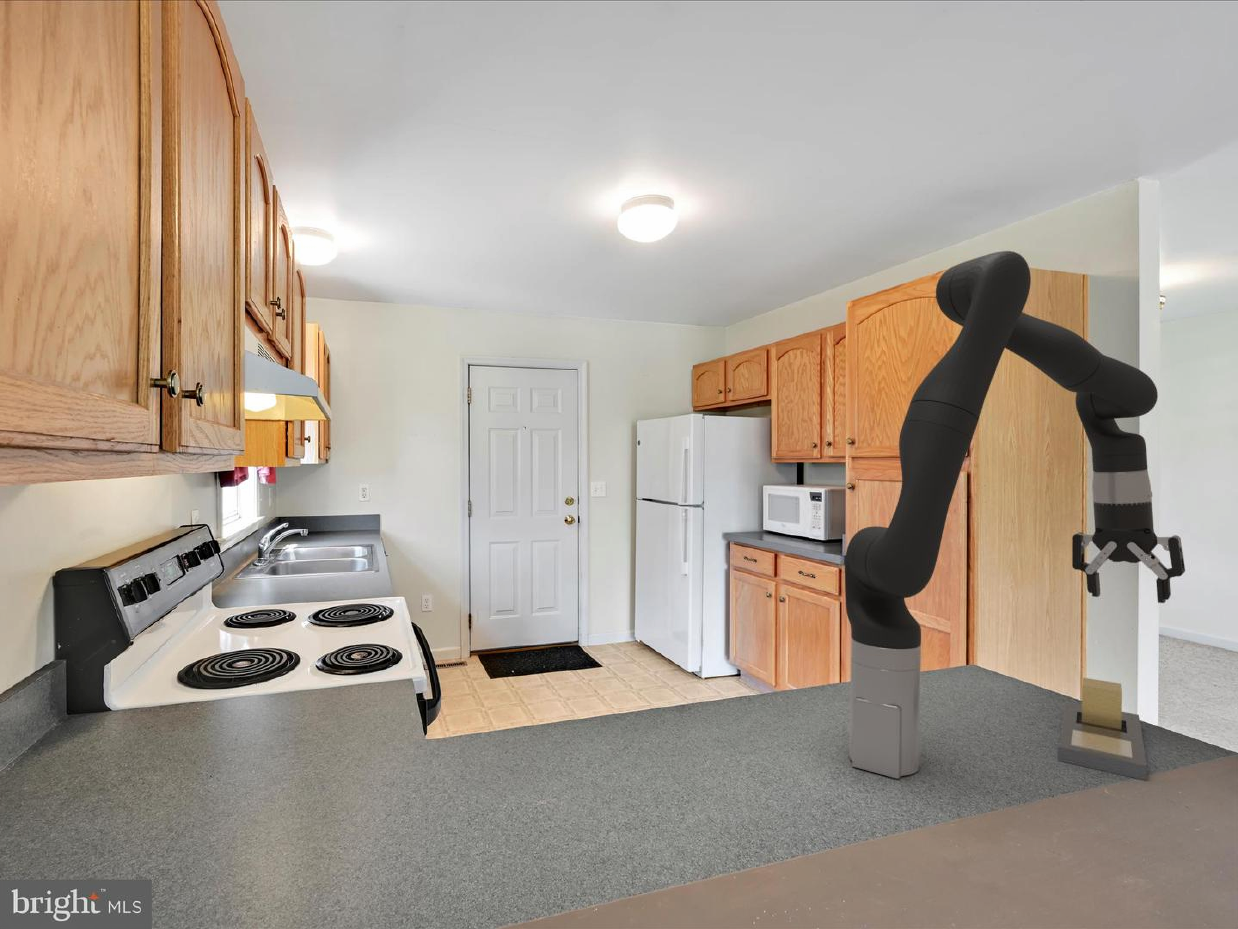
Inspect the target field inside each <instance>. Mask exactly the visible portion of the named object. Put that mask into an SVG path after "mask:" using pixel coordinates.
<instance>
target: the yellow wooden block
mask: <svg viewBox="0 0 1238 929" xmlns="http://www.w3.org/2000/svg"><path fill="white" fill-rule="evenodd" d="M1081 686H1082V688H1081V691H1082V692H1081V693H1082V694H1081V704H1082V724H1083V725H1088V726H1093V727H1098V728H1104V729H1109V730H1114V731H1119V732H1121V720H1122V712H1123V709H1122V708H1123V706H1122V704H1123V703H1122V702H1123V700H1122V699H1123V692H1122V683H1118V682H1113V681H1112V682H1111V681H1107V680H1106V681H1105V680H1100V679H1094V678H1088V677H1082V685H1081Z"/></svg>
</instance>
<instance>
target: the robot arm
mask: <svg viewBox="0 0 1238 929" xmlns="http://www.w3.org/2000/svg"><path fill="white" fill-rule="evenodd" d="M1030 269H1031V268H1030V266H1029V263H1028V262H1027V260H1026V259H1025V258H1024V257H1023V255H1021V253H1017V252H1016V251H1011V250H1004V251H1003V250H1002V251H996V252H992V253H988V254H986V255H981V256H979V257H976V258H975V257H974V258H972V259H969V260H965V261H963V262H961V263H958V264H956V265H954V266H952V267H950V268H948V269H946V270H945V271H944V272H943V273H942V274H941V276H940V277H939V279H938V280H937V284H936V288H935V299H936V303H937V305H938V307H939V310H940V311H941V312H942V314H943V315H944V316H945V317H947V319H949V320H950V321H952V322H953V323H955V324H957V325H959V326H961V327H962V328H961V330H960V332H959V334H958V336H957V338H956V339H955V341H954V342H953V344H952V345H951V347H950V348H949V350H948V351H947V352H945V354H944V356H942V357H941V359H940V360H938V362H937V363H936V364H935V366H934V367H932V369H931V370H930V371H929V372H928V373H927V375H926V376H925V378H923V380H922V381H921V383H920V384H919V385H918V387H917V388H916V390H915V391H914V393H913V395H912V398H911V400H910V403H909V406H908V409H907V410H906V414H905V416H904V420H903V423H902V426H901V428H900V433H899V439H898V449H899V453H898V454H899V462H900V469H901V471H900V472H901V489H900V494H899V498H898V501H897V504H896V507H895V510H894V512H893V515H892V518H891V520H890V523H889V525H888V526H887V527H885V526H877V525H876V526H866V527H864V528H862V529H860V530H858V531H857V532H856V533H854V534H853V536H852V537H851V539H850V540H849V543H848V545H847V548H846V552H845V557H844V558H845V560H844V587H845V588H844V592H845V612H846V615H847V619H848V622H849V624H850V632H851V634H850V638H851V640H850V642H851V643H850V683H849V684H850V685H849V686H850V688H849V690H850V691H849V695H850V696H849V698H850V699H849V700H850V701H849V746H848V747H849V749H848V750H849V754H848V755H849V756H848V757H849V759H850V760H851V763H852V764H851V766H852V767H853V768H857V769H861V770H865V771H868V772H872V773H876V774H879V775H883V776H887V777H888V778H889V777H890V778H893V779H900V778H901V777H903V776H910V775H913V774H916V773H917V772H918V771H919V770H920V741H921V740H920V733H921V732H920V731H921V730H920V728H921V726H920V724H921V722H920V721H921V719H920V718H921V668H922V666H921V665H922V664H921V663H922V662H921V660H922V628H921V624H920V623H919V622H918V621H917V620H916V619H915V617H914V616H913V615H912V614H911V612H910V611H909V609H908V607H907V604H906V601H905V599H908V598H911V597H915V596H916V595H918V594H919V593H921V592H922V591H923V590H924V589H925V588H926V587H927V585H928V584H929V582H930V581H931V579H932V576H933V575H934V572H935V569H936V565H937V562H938V557H939V553H940V548H941V545H942V540H943V534H944V529H945V526H946V522H947V517H948V516H947V515H948V513H949V508H950V505H951V502H952V499H953V496H954V492H955V489H956V486H957V484H958V480H959V478H960V473H961V470H962V467H963V464H964V462H965V458H966V456H967V454H968V450H969V448H970V447H971V443H972V440H973V437H974V435H975V432H976V428H977V426H978V424H979V419H980V416H981V413H982V409H983V407H984V404H985V400H986V398H987V395H988V392H989V389H990V387H991V384H992V382H993V379H994V376H995V374H996V370H997V368H998V365H999V363H1000V360H1001V357H1002V356H1003V353H1004V351H1005V349H1006V350H1009V351H1010V352H1012V353H1013V354H1015V355H1017V356H1018V357H1020V358H1021V359H1024V360H1025V361H1027V362H1029V363H1030V364H1031V365H1033V366H1034V367H1036V368H1037V369H1038V370H1039V371H1040V372H1042V373H1043V374H1044V375H1046V376H1047V377H1048V378H1050V379H1052V381H1054V382H1055V383H1057V385H1059V386H1060V387H1061V388H1063V389H1064V390H1066V391H1069V392H1072V393H1076V394H1075V408H1076V412H1077V415H1078V417H1079V420H1080V422H1081V424H1082V427H1083V429H1084V432H1085V435H1086V438H1087V440H1088V443H1089V444H1090V448H1091V458H1092V472H1093V473H1092V482H1091V483H1092V485H1091V486H1092V489H1091V490H1092V500H1093V501H1092V502H1093V517H1094V533H1093V534H1086V533H1083V532H1082V531H1081V532H1080V531H1079V532H1077V533H1075V534H1073V535H1072V540H1071V541H1072V542H1071V544H1072V545H1071V547H1072V548H1071V552H1072V553H1071V556H1072V558H1071V561H1072V562H1071V564H1072V568H1073V569H1074V570H1076V571H1077V570H1079V571H1081V572H1083V573H1085V575H1086V576H1085V578H1086V588H1087V591H1088V593H1089V594H1091V596H1092V598H1093V597H1095V598H1099V597H1100V596H1101V584H1100V583H1101V582H1100V581H1101V580H1100V572H1098V570H1099V569H1100V568H1101V566H1102V565H1103V564H1105V562H1106V561H1107V560H1110V561H1112V562H1113V563H1120V562H1121V563H1122V562H1126V563H1130V564H1137V563H1140V562H1142V563H1143V565H1145V566H1146V568H1148V569H1149V570H1151V571H1152V572H1153V574H1154V575H1156V576H1157V578H1156V593H1157V594H1156V596H1157V603H1158V604H1165V603H1166V602H1167V601H1166V600H1169V599H1170V598H1171V596H1172V594H1171V593H1172V591H1171V578H1175V577H1181V576H1182V575H1183V574H1184V573H1185V572H1186V567H1185V560H1184V553H1183V546H1182V541H1181V540H1182V539H1181V537H1180V536H1179V535H1172V536H1158V535H1157V534H1156V533H1155V530H1154V517H1153V516H1154V515H1153V514H1154V513H1153V503H1152V502H1153V499H1152V498H1153V492H1152V491H1153V490H1152V485H1151V484H1152V483H1151V480H1150V476H1149V471H1148V459H1147V458H1148V457H1147V443H1146V440H1145V438H1144V436H1143V435H1141V434H1138V433H1134V432H1127V431H1124V430H1121V428H1120V427H1119V426H1118V423H1117V421H1116V420H1117V419H1127V418H1137V417H1141V416H1144V415H1147V414H1148V413H1149V412H1151V411H1153V409H1154V407H1155V406H1156V404H1157V402H1158V399H1159V398H1158V396H1159V395H1158V394H1159V393H1158V389H1157V386H1156V384H1155V382H1154V380H1153V379H1152V378H1151V377H1150V376H1149V375H1148V374H1147V373H1145V372H1144V371H1142V370H1140V369H1139V368H1137V367H1134V366H1133V365H1130V364H1127V363H1126V362H1123V361H1121V360H1118V359H1115V358H1113V357H1110V356H1107V355H1105V354H1103V353H1102V352H1101V351H1100V350H1098V349H1097V348H1096V347H1095V346H1093V345H1092V344H1091V343H1089V341H1088V340H1086V339H1085V338H1083V337H1082V336H1081V335H1079V334H1077V333H1076V332H1074V331H1073V330H1070V329H1068V328H1066V327H1065V326H1062V325H1058V324H1056V323H1053V322H1050V321H1046V320H1044V319H1040V318H1038V317H1035V316H1033V315H1030V314H1028V313H1026V312H1023V311H1024V309H1025V305H1026V303H1027V301H1028V298H1029V295H1030V290H1031V280H1032V277H1031V275H1032V274H1031V270H1030ZM1090 542H1092V543H1093V544H1094V545H1095V547H1096V548H1098V550H1099V551H1100V552H1099V553H1098V554H1097V555H1096V556H1095V557H1094V559H1092V561H1091V562H1090V563H1088V562H1085V558H1086V557H1085V552H1086V549H1085V548H1087V547H1088V546H1089V545H1090ZM1157 545H1161V546H1162V548H1163V550H1164V551H1166V552H1169V558H1170V564H1171V567H1169V568H1168V567H1166V566H1165V564H1163V563H1162V562H1161V560H1160V559H1159V558H1158V557H1157V555H1156V554H1155V553H1154V552H1152V551H1153V550H1155V548H1156V547H1157Z"/></svg>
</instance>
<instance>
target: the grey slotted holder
mask: <svg viewBox="0 0 1238 929" xmlns="http://www.w3.org/2000/svg"><path fill="white" fill-rule="evenodd" d="M1131 718H1132V719H1131ZM1060 728H1061V729H1060V733H1059V739H1058V740H1059V741H1058V746H1057V747H1058V748H1057V749H1058V750H1057V761H1058V762H1063V763H1067V764H1071V765H1076V766H1080V767H1085V768H1090V769H1094V770H1099V771H1102V772H1106V773H1107V772H1108V773H1110V774H1116V775H1120V776H1125V777H1129V778H1133V779H1137V780H1142V781H1146V782H1147V780H1148V779H1147V777H1148V763H1147V759H1146V758H1147V757H1146V751H1145V746H1144V739H1143V732H1142V726H1141V720H1140V715H1139V714H1137V713H1131V712H1126V711H1122V720H1121V732H1119V731H1114V730H1109V729H1104V728H1098V727H1093V726H1088V725H1083V724H1082V703H1078V702H1071V701H1066V700H1065V702H1064V708H1063V717H1062V721H1061V727H1060Z"/></svg>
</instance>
